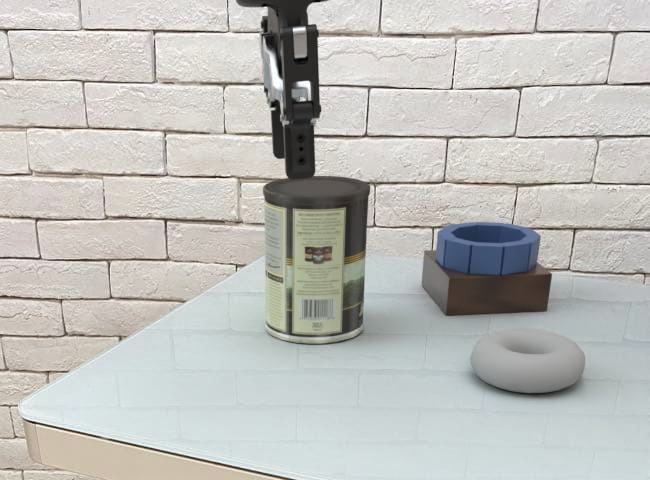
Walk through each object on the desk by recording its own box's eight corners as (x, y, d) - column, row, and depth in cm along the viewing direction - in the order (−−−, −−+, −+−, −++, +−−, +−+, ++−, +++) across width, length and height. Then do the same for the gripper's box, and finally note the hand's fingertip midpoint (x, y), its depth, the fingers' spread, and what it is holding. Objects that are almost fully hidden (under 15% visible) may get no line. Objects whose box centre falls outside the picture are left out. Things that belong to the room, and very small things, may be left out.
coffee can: (331, 306, 105) (336, 171, 98) (382, 334, 97) (391, 189, 90) (247, 320, 102) (244, 181, 94) (292, 351, 94) (294, 201, 86)
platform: (514, 281, 112) (518, 246, 110) (546, 310, 103) (552, 273, 101) (421, 285, 111) (424, 250, 109) (445, 315, 102) (449, 278, 100)
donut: (602, 378, 87) (506, 349, 93) (610, 341, 85) (512, 314, 91) (544, 410, 81) (446, 377, 87) (550, 372, 79) (450, 341, 85)
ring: (516, 246, 110) (519, 220, 108) (549, 273, 101) (553, 244, 99) (426, 250, 109) (429, 223, 108) (451, 277, 100) (454, 248, 99)
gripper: (354, -80, 62) (356, 181, 71) (320, -76, 74) (325, 147, 83) (239, -70, 62) (255, 191, 70) (223, -68, 74) (239, 155, 83)
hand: (293, 167), depth 77 cm, fingers open, 8 cm apart
